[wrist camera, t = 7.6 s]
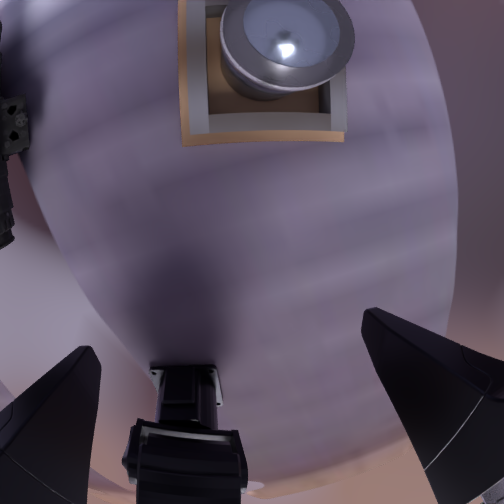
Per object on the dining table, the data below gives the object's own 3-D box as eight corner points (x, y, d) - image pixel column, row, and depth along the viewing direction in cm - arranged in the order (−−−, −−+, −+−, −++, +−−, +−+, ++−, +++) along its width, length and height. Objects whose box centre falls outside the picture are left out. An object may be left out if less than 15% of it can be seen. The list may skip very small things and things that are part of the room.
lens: (319, 53, 14) (376, 19, 8) (280, 118, 16) (322, 113, 9) (245, 13, 13) (263, -45, 6) (202, 79, 14) (192, 46, 8)
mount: (335, 140, 18) (360, 144, 15) (185, 145, 17) (177, 149, 14) (328, 11, 14) (350, -8, 10) (180, 8, 13) (173, -16, 10)
